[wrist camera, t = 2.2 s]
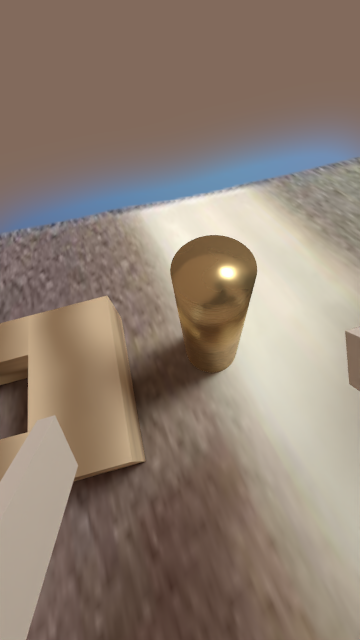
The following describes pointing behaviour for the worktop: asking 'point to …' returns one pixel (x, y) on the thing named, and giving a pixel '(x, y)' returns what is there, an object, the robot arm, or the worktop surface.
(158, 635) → the worktop surface
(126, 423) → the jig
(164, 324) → the worktop surface
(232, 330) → the brass cylinder
